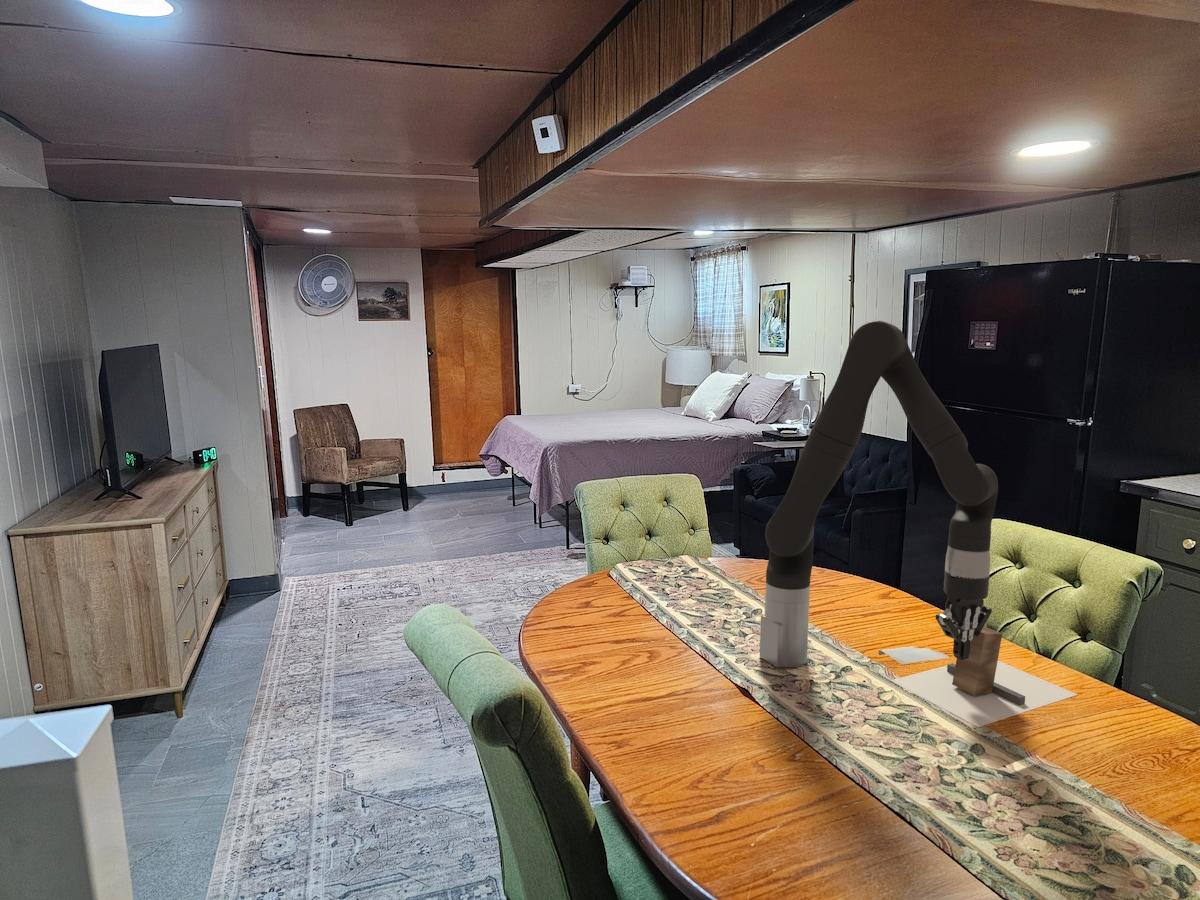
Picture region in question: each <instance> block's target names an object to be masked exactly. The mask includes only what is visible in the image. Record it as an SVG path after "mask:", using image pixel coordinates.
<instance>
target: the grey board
mask: <svg viewBox="0 0 1200 900" xmlns="http://www.w3.org/2000/svg"><path fill="white" fill-rule="evenodd" d="M955 665H956V662H955V663H953V662H952V663H949V664H948V663H947V665H944V666H939V667H936V668H932V669H928V670H924V671H922V672H917V673H913V674H910V675H906V676H901V677H898V678H895V679H891V680H890V682H891V683H893V684H895V685H897V686H900V687H901V688H903V689H906V690H908V691H909V692H911V693H912V694H915V695H916V696H918V697H920V698H922V699H924V700H926V701H928V702H930V703H932V704H934V705H935V706H937V707H939V708H941V709H943V710H945V711H947V712H949V713H950V714H953V715H954V716H956V717H958V718H960V719H962V720H963V721H966V722H968V723H969V724H971V725H973V726H976V727H977V728H981V727H983V726H986V725H989V724H992V723H995V722H998V721H1001V720H1005V719H1008V718H1012V717H1015V716H1017V715H1020V714H1024V713H1026V712H1029V711H1032V710H1036V709H1039V708H1042V707H1045V706H1048V705H1051V704H1054V703H1056V702H1060V701H1063V700H1067V699H1069V698H1072V697H1076V696H1078V693H1076V692H1072V691H1070V690H1068V689H1065V688H1064V687H1062V686H1058V685H1056V684H1054V683H1051V682H1050V681H1047V680H1044V679H1041V678H1039V677H1038V676H1035V675H1033V674H1030V673H1029V672H1025V671H1023V670H1021V669H1019V668H1016V667H1014V666H1011V665H1009V664H1007V663H1005V662H1002V661H1000V660H998V661H997V667H996V673H995V678H994V684H993V690H992V693H991V694H982V695H973V694H971V693H969V692H967V691H965V690H963V689H961V688H958V687H956V686H954V685H952V682H953V676H954V671H955Z"/></svg>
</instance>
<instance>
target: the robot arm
mask: <svg viewBox="0 0 1200 900" xmlns="http://www.w3.org/2000/svg"><path fill="white" fill-rule="evenodd" d="M905 337H906V336H905V334H904V332H903V331H902V330H901V329H900V328H899V327H897V326H896V325H894V324H892V323H889V322H886V321H884V320H875V319H874V320H869V321H867V322H866V323H863V324H861V325H860V326H859V327H858V328H857V329H856V330H855V331H854V333H853V334H852V337H851V339H850V341H849V344H848V347H847V350H846V351H845V352H846V353H845V356H844V359H843V361H842V363H841V367H840V370H839V374H838V375H837V378H836V381H835V382H834V386H833V387H832V389H831V391H830V393H829V394H828V396H827V398H826V400H825V402H824V404H823V406H822V408H821V411H820V413H819V414H818V417H817V418H816V421H815V422H814V423H813V425H812V426H813V427H812V428H811V430H810V433H809V435H808V438H807V440H806V441H805V444H804V446H803V449H802V450H801V453H800V456H799V459H798V461H797V464H796V467H795V469H794V473H793V474H792V475H793V476H792V478H791V481H790V484H789V487H788V489H787V490H786V492H785V495H784V496H783V498H782V500H781V502H780V503H779V505H778V507H777V508H776V510H775V512H774V513H773V515H772V516H771V518H770V519H769V520H768V521H767V523H766V525H765V531H764V538H765V542H766V545H767V547H768V548H769V554H768V561H767V567H766V571H765V572H766V573H765V596H764V597H765V598H764V614H763V615H761V616H760V632H759V633H760V635H759V637H760V638H759V658H761V659H763V660H764V661H765V662H767V663H769V664H770V665H772V666H774V667H775V668H798V667H802V666H804V665H805V664H807V661H808V645H809V644H808V643H809V617H810V616H809V615H810V595H811V594H810V592H811V576H812V571H813V559H814V557H813V556H814V543H815V542H814V541H815V527H814V524H815V522H816V519H817V516H818V514H819V511H820V509H821V506H822V505H823V503H824V501H825V500H826V498H827V496H828V495H829V493H830V492H831V490H832V489H833V488H834V486H835V485H836V484H837V481H839V479H840V477H841V475H842V473H843V472H844V470H845V469H846V466H847V465H848V464H849V462H850V459H851V458H852V456H853V453H854V452H855V450H856V447H857V445H858V443H859V440H860V438H861V436H862V432H863V428H864V424H865V419H866V414H867V410H868V405H869V403H870V402H869V401H870V399H871V397H872V394H873V392H874V390H875V388H876V386H877V385H878V382H879V381H880V379H881V378H882V379H883V380H884V382H886V384H888V385H887V386H888V387H890V389H891V390H892V392H893V393H894V395H895V396H896V399H898V401H899V404H900V407H901V408H902V410H903V413H904V415H905V418H906V419H907V422H908V423H909V425H910V428H911V429H912V432H913V433H914V434H915V436H916V438H917V439H918V440H919V442H920V443H921V445H922V446H923V448H924V449H925V451H926V452H927V454H928V456H929V457H931V459H932V461H933V464H934V466H935V468H936V471H937V473H938V476H939V477H940V480H941V482H942V485H943V487H944V488H945V490H946V492H948V494H949V495H950V497H951V498H952V499H953V500H954V501H955V502H956V503H955V504H956V505H955V513H954V514H953V515H952V517H951V519H950V523H949V529H948V540H947V541H948V542H947V544H948V545H947V550H946V554H945V562H944V563H945V564H944V580H943V591H944V593H945V594H946V595H947V600H946V603H945V605H944V606H945V609H944V611H943V612H942V613H941V614H940V613H937V614H936V615H935V620H936V621H937V623H938V625H939V627H940V629H941V630H942V632H943V633H944V635H945V636H946V637H948V638H951V639H953V645H952V646H953V649H952V653H953V657H954V658H955V659H957V658H958V659H960V660H964V659H968V658H969V653H970V641H971V640H972V639H973V636H974V635H976V636H978V635H979V634H980V632H981V630H982V629H983V627H985V625H986V623H987V621H988V619H989V618H990V616H991V614H992V612H993V610H992V608H990V607H987V606H986V605H985V601H984V600H985V599H987V598H988V595H989V586H990V585H989V584H990V572H991V571H990V570H991V569H990V568H991V552H990V551H991V541H992V540H991V539H992V522H993V517H994V513H995V509H996V505H997V504H996V503H997V499H998V492H999V481H998V477H997V475H996V474H997V473H995V471H994V470H993V469H992V468H991V467H990V466H988V465H986V464H983V463H976V461H974V460H975V459H974V458H973V457H972V455H971V454H970V452H969V450H968V447H969V443H968V440H967V437H966V436H965V434H964V433H963V432H962V430H961V428H960V427H959V426H958V424H957V423H956V421H955V420H954V418H953V416H952V415H951V414H950V413H949V411H948V410H947V409H946V407H945V406H944V404H943V403H942V402H941V400H940V398H939V397H938V396H937V395H936V393H935V391H934V390H933V389H932V388H931V386H930V385H929V383H928V381H927V380H926V378H925V377H924V375H923V373H922V371H921V370H920V368H919V365H918V364H917V362H916V359H915V358H914V355H913V353H912V351H911V348H910V347H909V344H908V341H907V339H906V338H905Z"/></svg>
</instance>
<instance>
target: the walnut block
mask: <svg viewBox="0 0 1200 900" xmlns="http://www.w3.org/2000/svg"><path fill="white" fill-rule="evenodd" d="M1002 637H1003V633H1002V632H1000V631H997V630H994V629H992V628H989V627H986V626H984V627H983V629H982V630H981V632H980V634H979V635H978V636H976V635H974V636H973V639H972V640H971V641H970V653H969V658H968V659H964V660H960V659H958V658H955V659H956V661H955V663H956V665H955V671H954V676H953V682H952V685H954V686H956V687H958V688H961V689H963V690H965V691H967V692H969V693H971V694H973V695H982V694H991V693H992V690H993V684H994V678H995V673H996V667H997V661H999V655H1000V650H1001V649H1000V648H1001V643H1002Z"/></svg>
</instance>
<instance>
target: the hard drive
mask: <svg viewBox="0 0 1200 900" xmlns="http://www.w3.org/2000/svg"><path fill="white" fill-rule="evenodd" d="M878 655H879V656H882V655H887V656H888V657H890V658H892V659H893V660H894V661H896V662H898V663H899V664H901V665H905V664H912V663H919V662H928V661H934V660H935V661H936V660H943V659H944V660H945V659H949V658H950V656H948V655H947V654H945V653H943V652H942V651H941V652H940V651H938V650H933V649H931V648H928V647H924V648H923V647H916V645H913V646H912V645H911V646H903V647H896V648H887V649H881V650H878Z"/></svg>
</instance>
